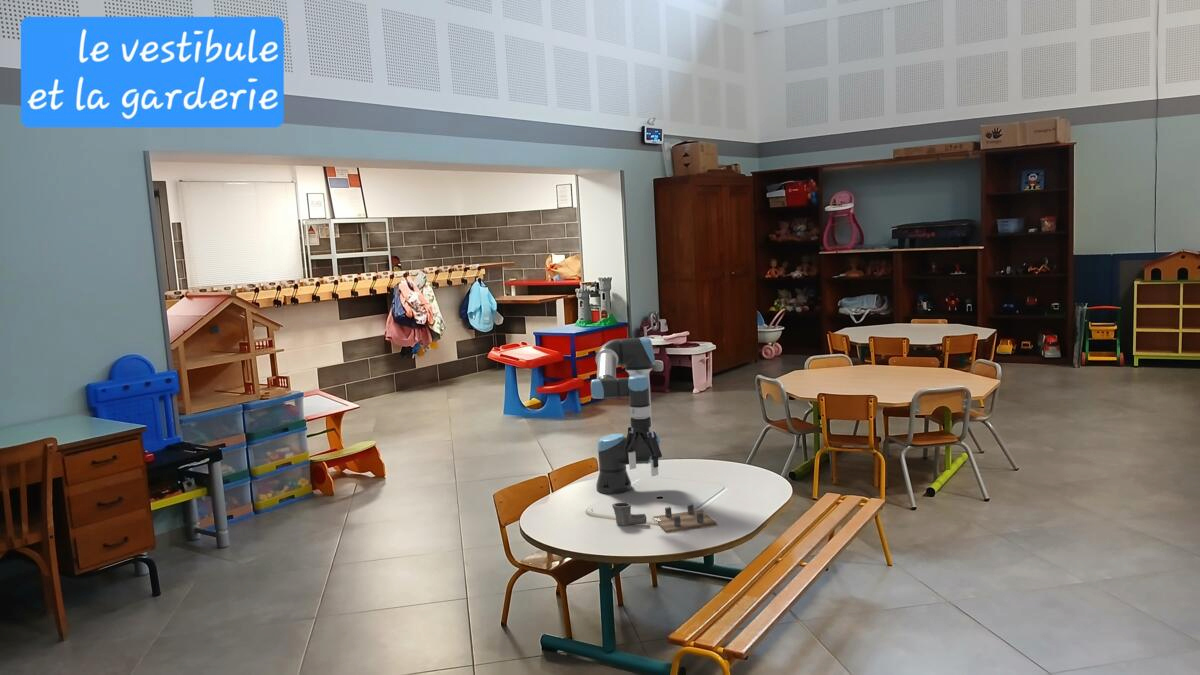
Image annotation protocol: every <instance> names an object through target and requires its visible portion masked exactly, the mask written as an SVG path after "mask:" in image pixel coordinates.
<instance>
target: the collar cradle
mask: <svg viewBox="0 0 1200 675" xmlns="http://www.w3.org/2000/svg"><path fill="white" fill-rule="evenodd" d="M686 506H687V508H686V509H687V511H681V512H676V513H672V507H671V506H668V507H664V513H665V514H662V515H661V514H660V515H655V516H652V518H653V517H654V518H657V519H658V518H659V519H660V520H661V521H657V520H656V521H657V522H658V524H659V525H658V524H657V525H658V526H659V527H660V528H661V529H662V530H663V531H664V532H665V533H674V532H681V531H685V530H686V531H687V530H693V529H700V528H706V527H712V526H718V522H717V521H716V520H714V518H713V517H711V516H710V515H709V514H708V513H706V511H704V510H703V509H696V510H695V509H694V508H695V507H694V506H695V505H694V504H693V503H689V504H686Z"/></svg>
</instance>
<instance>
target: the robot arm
mask: <svg viewBox="0 0 1200 675" xmlns="http://www.w3.org/2000/svg"><path fill="white" fill-rule="evenodd" d="M655 358H656V357H655V353H654V347H653V342H652V339H650V337H632V338H630V337H628V338H616V339H611V340H609V341H607V342H606V343H604V344H602V346H601V347H600V348H599V349H598V350H597V352H596V354H595V363H596V365H597V371H596V378H595V379H591V381H590V394H591V397H592V399H600V400H603V399H612V398H629V410H630V411H629V413H630V426H628V428H627V433H626V434H627V435H626V436H625V434H623V433H612V434H608V435H604V436H602V437H600V438H599V439H598V441H597V453H598V469H599V470H598V471H599V473H598V477H597V479H596V480H597V481H596V484H595V485H596V491H597V492H599V493H602V494H609V495H610V494H612V495H613V494H620V493H621V494H622V493H626V492H628V491H630V490H631V489H632V482H631V479H630V476H629V474H628V471H627V466H628V467H629V470H634V469H636V468H637V465H644V464H646V465H648V464H649V465H650V473H651V474H650V475H651V477H655V476H659V458H660V459H661V458H662V457H663V455H662V451H661V448H660V443H661V442H660V441H661V437H660V436H659V435H658V434H657V431H656V429H654V428H653V420H652V418H653V417H652V399H651V398H652V397H651V396H652V395H651V384H650V372H651V371H652V370H653V365H656V359H655ZM617 367H624V368H625V369H624V370H625V372H626V373H627V374H628V375H629V377H617Z"/></svg>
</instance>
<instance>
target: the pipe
mask: <svg viewBox="0 0 1200 675" xmlns="http://www.w3.org/2000/svg"><path fill="white" fill-rule="evenodd" d="M611 506H612V509H613V512H614V515H615V523H616V525H618V526H621V527H622V526H623V527H624V526H629V525H645V524H647V515H646V514H645V513H637V514H632V511H631V510H632V509H631V508H632V504H631V503H629V502H624V501H623V502H616V503H613V504H612V505H611Z"/></svg>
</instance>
